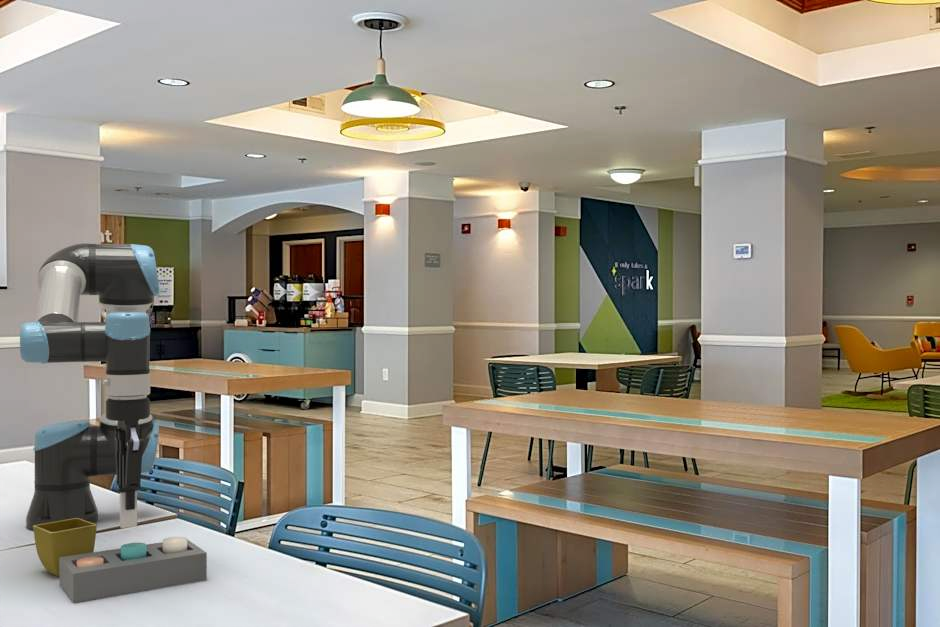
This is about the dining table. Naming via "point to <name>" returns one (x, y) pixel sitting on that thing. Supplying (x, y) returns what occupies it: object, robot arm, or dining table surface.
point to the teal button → (133, 551)
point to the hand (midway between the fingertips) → (128, 526)
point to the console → (130, 572)
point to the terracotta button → (89, 561)
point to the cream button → (174, 545)
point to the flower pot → (63, 541)
